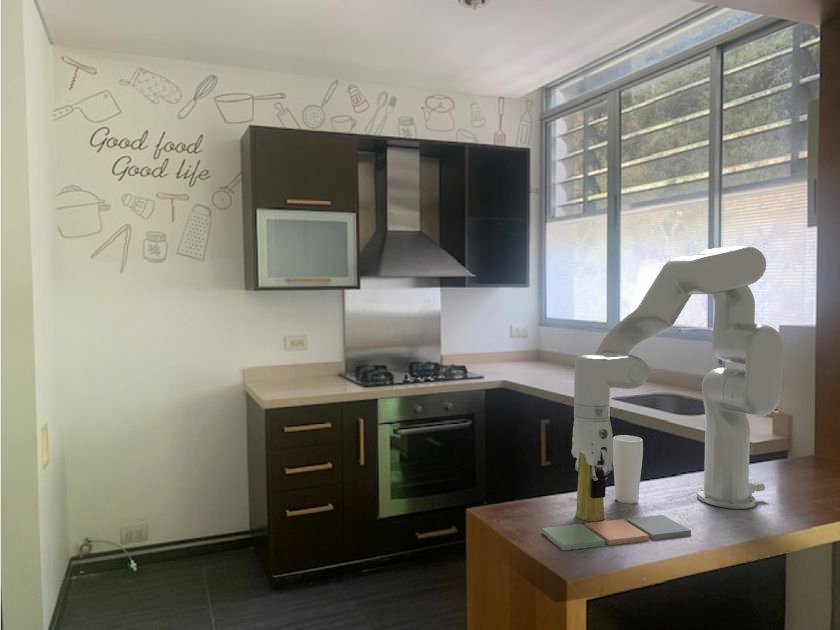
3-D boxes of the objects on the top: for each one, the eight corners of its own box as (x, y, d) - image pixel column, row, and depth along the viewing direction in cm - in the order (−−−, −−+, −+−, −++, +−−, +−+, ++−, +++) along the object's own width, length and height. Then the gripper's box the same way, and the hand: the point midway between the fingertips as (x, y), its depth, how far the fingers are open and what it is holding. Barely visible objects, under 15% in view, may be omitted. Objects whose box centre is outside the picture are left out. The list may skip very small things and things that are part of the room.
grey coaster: (662, 519, 135) (662, 514, 135) (690, 535, 127) (690, 530, 127) (626, 523, 133) (626, 518, 133) (652, 539, 124) (653, 534, 124)
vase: (585, 509, 141) (585, 447, 140) (609, 516, 137) (610, 452, 136) (570, 516, 137) (571, 452, 136) (595, 524, 132) (596, 458, 132)
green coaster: (580, 528, 130) (580, 523, 130) (604, 545, 121) (604, 540, 121) (541, 532, 127) (541, 528, 127) (563, 550, 119) (563, 545, 119)
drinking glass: (643, 506, 143) (645, 442, 143) (613, 504, 145) (614, 441, 144) (639, 497, 150) (640, 435, 149) (610, 495, 151) (611, 434, 151)
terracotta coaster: (622, 523, 133) (622, 519, 133) (648, 540, 124) (648, 535, 124) (585, 528, 130) (585, 523, 130) (609, 545, 122) (609, 540, 121)
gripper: (629, 418, 128) (628, 504, 129) (586, 403, 145) (585, 480, 146) (597, 420, 126) (596, 507, 127) (557, 405, 143) (556, 482, 144)
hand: (590, 492), depth 136 cm, fingers closed on vase, 5 cm apart
